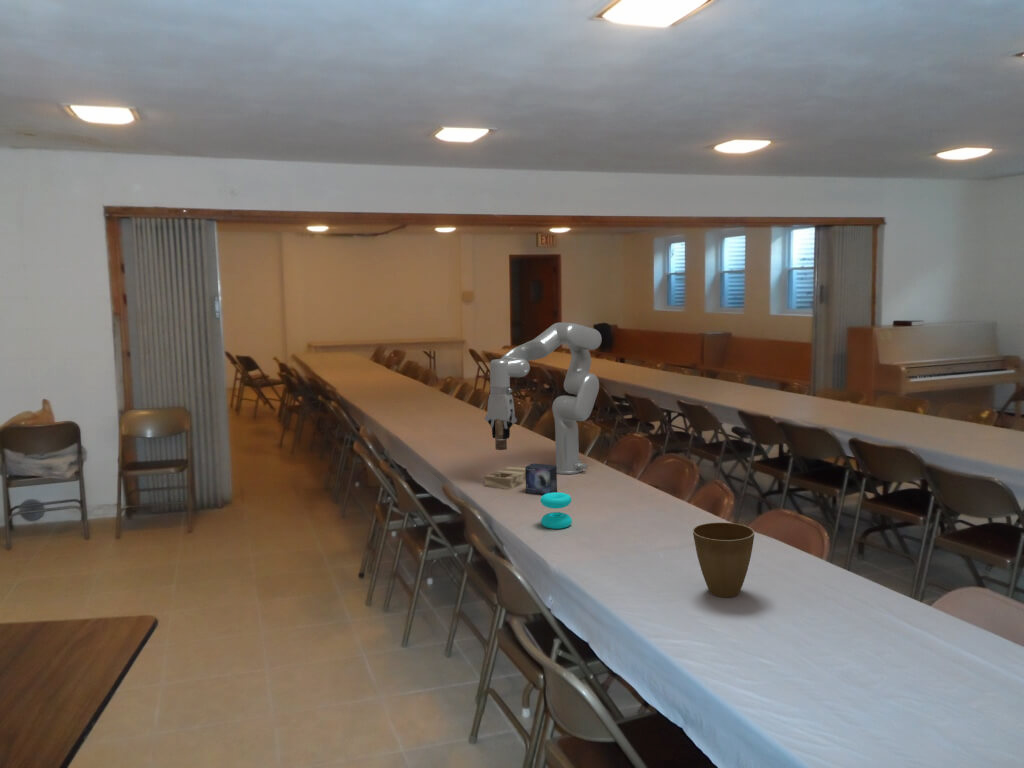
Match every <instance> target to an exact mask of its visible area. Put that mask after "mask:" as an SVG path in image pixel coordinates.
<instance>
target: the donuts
mask: <svg viewBox="0 0 1024 768" xmlns="http://www.w3.org/2000/svg"><path fill="white" fill-rule="evenodd" d="M571 503H572V497H571V495H570V494H569V493H565V492H558V491H557V492H554V493H547V494H544V495H541V497H540V504H541V505H542V506H544V507H545V508H549V509H563V508H565V507H568V506H569V505H570V504H571ZM572 520H573V519H572V517H571V516H570V515H569V514H568V513H565V512H560V511H559V512H558V511H557V512H556V511H555V512H554V511H553V512H549V513H545V514H544V515H543V516H542V517H541V519H540V522H541V526H543V527H544V528H548V529H554V530H559V529H560V530H562V529H565V528H567V527H570V526H571V524H572V523H573V521H572Z"/></svg>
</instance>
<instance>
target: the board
mask: <svg viewBox="0 0 1024 768" xmlns="http://www.w3.org/2000/svg"><path fill="white" fill-rule="evenodd" d="M525 467H526V466H525ZM525 467H524V466H517V465H511V466H507V467H505V468H503V469H501V470H498V471H495V472H493V473H489V474H488V475H486V476H484V482H485V483H484V484H485V485H484V486H485V488H493V487H495V488H494V489H501V488H503V489H502V490H509V489H510V490H512V489H513V488H516V487H518V485H519V486H520V485H522V484H526V470H525ZM511 488H512V489H511Z"/></svg>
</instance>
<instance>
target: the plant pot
mask: <svg viewBox="0 0 1024 768" xmlns="http://www.w3.org/2000/svg"><path fill="white" fill-rule="evenodd" d="M692 536H693V540H694V545H695V551H696V556H697V559H698V564H699V567H700V571H701V572H702V576H703V580H704V581H705V582H704V583H705V584H706V587H707V589H708V592H709V593H710V594H711V595H713V596H715V597H719V598H733V597H736V596H738V595H739V594H740V592H741V590H742V587H743V585H744V583H745V578H746V576H747V573H748V570H749V566H750V562H751V557H752V553H753V547H754V540H755V530H754V529H753V528H751V527H750V526H748V525H744V524H740V523H734V522H717V521H716V522H708V523H702V524H699V525H696V526H695V527H694V528H693V529H692Z"/></svg>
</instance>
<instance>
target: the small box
mask: <svg viewBox="0 0 1024 768" xmlns="http://www.w3.org/2000/svg"><path fill="white" fill-rule="evenodd" d="M525 470H526V482H525V493H526V494H530V495H538V496H543V495H544V494H547V493H554V492H558V476H557V475H558V473H557V466H556V464H555V465H554V464H544V463H536V462H532V463H530V464H528V465H526V466H525Z"/></svg>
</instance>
